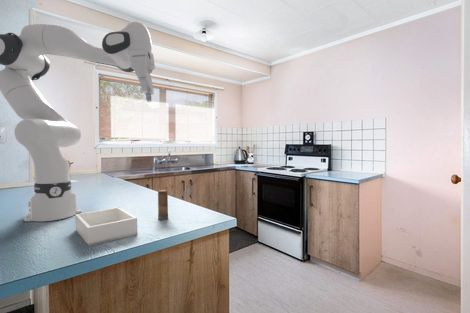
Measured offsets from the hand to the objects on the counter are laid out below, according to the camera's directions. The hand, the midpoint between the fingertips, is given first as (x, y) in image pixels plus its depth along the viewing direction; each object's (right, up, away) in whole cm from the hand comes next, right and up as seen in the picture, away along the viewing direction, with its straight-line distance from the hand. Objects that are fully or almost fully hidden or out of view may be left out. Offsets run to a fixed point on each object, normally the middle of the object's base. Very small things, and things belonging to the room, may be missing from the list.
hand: (147, 96), depth 94 cm
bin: (-9, -48, -13) cm, 51 cm away
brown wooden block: (+5, -48, +2) cm, 48 cm away
